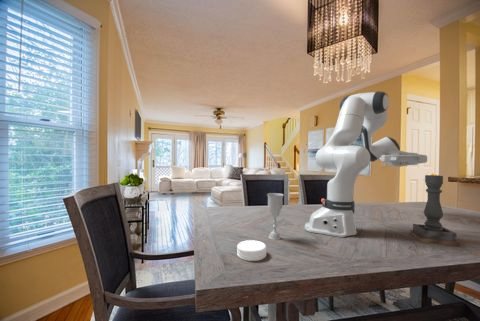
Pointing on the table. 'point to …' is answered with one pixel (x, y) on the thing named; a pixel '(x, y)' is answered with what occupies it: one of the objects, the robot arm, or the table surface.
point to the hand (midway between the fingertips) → (408, 158)
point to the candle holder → (433, 203)
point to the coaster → (251, 250)
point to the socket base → (434, 236)
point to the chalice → (275, 211)
